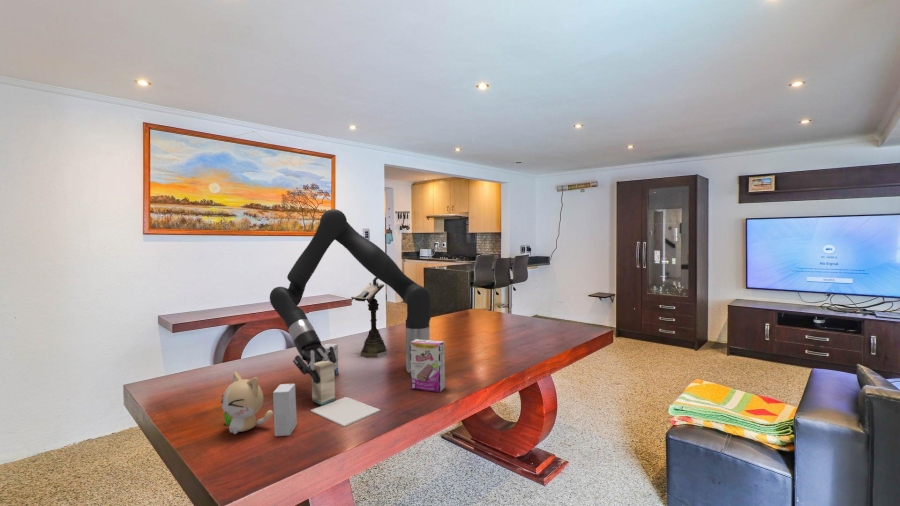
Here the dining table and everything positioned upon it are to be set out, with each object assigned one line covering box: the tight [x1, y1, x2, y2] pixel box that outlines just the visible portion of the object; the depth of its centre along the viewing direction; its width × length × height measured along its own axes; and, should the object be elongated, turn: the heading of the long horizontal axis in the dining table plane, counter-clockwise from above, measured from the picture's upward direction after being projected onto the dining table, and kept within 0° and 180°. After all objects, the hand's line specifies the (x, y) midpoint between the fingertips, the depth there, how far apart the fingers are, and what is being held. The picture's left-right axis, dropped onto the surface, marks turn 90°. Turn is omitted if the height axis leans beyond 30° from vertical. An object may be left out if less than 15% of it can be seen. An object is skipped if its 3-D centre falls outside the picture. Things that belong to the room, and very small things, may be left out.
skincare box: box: [272, 383, 298, 437], centre depth 112 cm, size 6×4×12 cm
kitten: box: [220, 371, 274, 435], centre depth 113 cm, size 15×10×15 cm
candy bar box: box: [410, 339, 446, 393], centre depth 141 cm, size 11×5×16 cm, turn 71°
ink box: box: [322, 343, 339, 376], centre depth 154 cm, size 9×5×12 cm, turn 168°
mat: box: [310, 396, 381, 428], centre depth 124 cm, size 16×13×1 cm
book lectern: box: [350, 276, 388, 359], centre depth 181 cm, size 17×13×35 cm
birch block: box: [311, 361, 336, 406], centre depth 131 cm, size 5×5×12 cm
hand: (326, 379), depth 130 cm, fingers closed on birch block, 5 cm apart
